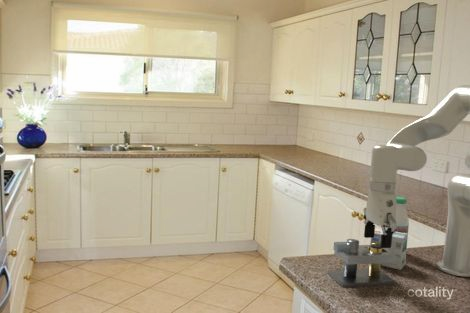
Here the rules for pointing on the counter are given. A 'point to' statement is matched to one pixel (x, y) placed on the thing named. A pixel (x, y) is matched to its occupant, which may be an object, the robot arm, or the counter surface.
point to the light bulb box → (394, 247)
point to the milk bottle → (401, 216)
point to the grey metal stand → (360, 255)
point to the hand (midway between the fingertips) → (377, 242)
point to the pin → (375, 267)
